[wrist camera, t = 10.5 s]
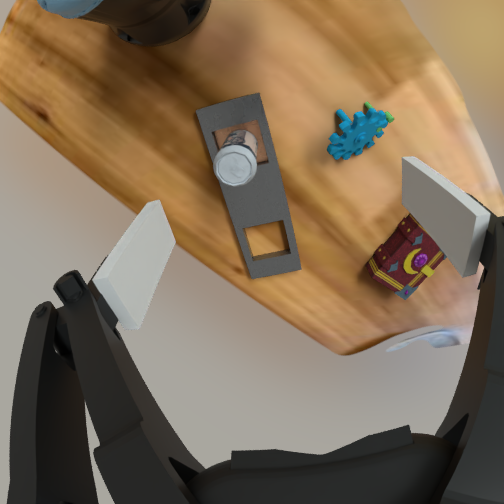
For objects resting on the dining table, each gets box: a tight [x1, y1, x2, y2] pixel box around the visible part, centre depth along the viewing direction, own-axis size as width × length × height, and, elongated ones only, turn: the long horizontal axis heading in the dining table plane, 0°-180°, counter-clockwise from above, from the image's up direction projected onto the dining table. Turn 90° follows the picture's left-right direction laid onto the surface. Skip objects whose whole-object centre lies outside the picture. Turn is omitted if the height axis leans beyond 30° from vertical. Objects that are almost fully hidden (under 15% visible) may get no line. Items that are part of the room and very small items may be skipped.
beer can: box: [213, 130, 258, 187], centre depth 34 cm, size 5×5×12 cm
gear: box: [327, 102, 394, 160], centre depth 35 cm, size 11×6×10 cm
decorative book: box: [366, 213, 447, 300], centre depth 46 cm, size 11×16×5 cm
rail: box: [196, 93, 301, 279], centre depth 43 cm, size 30×9×2 cm, turn 15°
